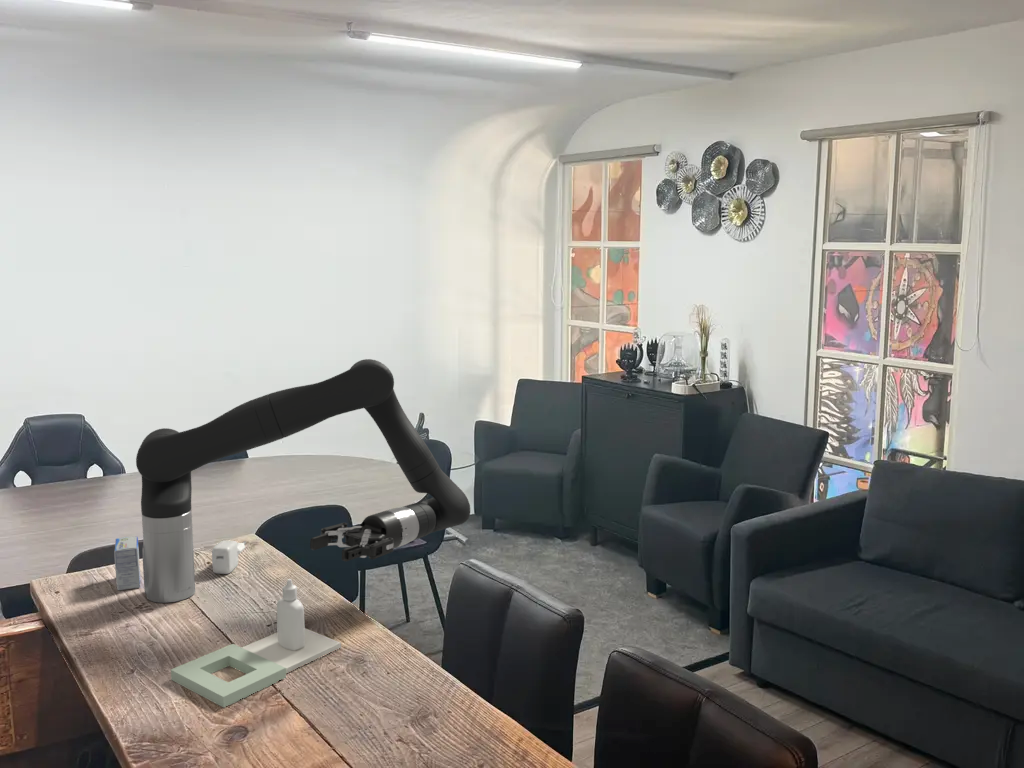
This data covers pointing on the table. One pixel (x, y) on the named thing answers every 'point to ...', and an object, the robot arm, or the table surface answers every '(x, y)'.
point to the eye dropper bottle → (290, 619)
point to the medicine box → (127, 563)
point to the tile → (293, 658)
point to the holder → (227, 693)
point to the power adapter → (226, 556)
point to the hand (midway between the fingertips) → (327, 550)
